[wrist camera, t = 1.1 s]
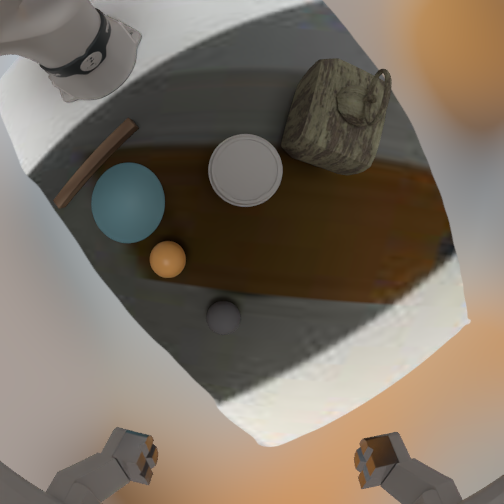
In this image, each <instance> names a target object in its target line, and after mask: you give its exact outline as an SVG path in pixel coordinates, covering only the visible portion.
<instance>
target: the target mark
mask: <svg viewBox="0 0 504 504" xmlns="http://www.w3.org/2000/svg"><path fill="white" fill-rule="evenodd" d="M164 207H165V197H164V192H163V188H162V186H161V183H160V181H159V180H158V178H157V177H156V175H155V174H154V173H153V172H152V171H150V170H149V169H148V168H146V167H144V166H142V165H140V164H136V163H121V164H118V165H115V166H113V167H111V168H110V169H108V170H107V171H106V172H105V173H104V174H103V175H102V176H101V177H100V178H99V180H98V181H97V183H96V185H95V188H94V191H93V194H92V213H93V216H94V219H95V222H96V223H97V225H98V227H99V228H100V230H101V231H102V232H103V233H104V234H105V235H106V236H108V237H109V238H111V239H113V240H115V241H118V242H121V243H134V242H138V241H141V240H143V239H145V238H146V237H148V236H149V235H150V234H151V233H153V231H154V230H155V229H156V228H157V226H158V225H159V223H160V221H161V219H162V216H163V213H164Z"/></svg>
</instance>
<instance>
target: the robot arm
mask: <svg viewBox="0 0 504 504" xmlns="http://www.w3.org/2000/svg"><path fill="white" fill-rule="evenodd" d="M130 34H132V35H130ZM141 37H142V35H141V33H140V32H139V31H137V30H135V29H133V28H131V27H129V26H127V25H125V24H123V23H121V22H119V21H117V20H115V19H113V18H111V17H109V16H107V15H104V14H103V13H102V12H101V11H100V10H99V9H97V8H94V6H93V5H92V4H91V2H90V1H89V0H0V56H2V55H10V54H12V55H19V56H22V57H25V58H28V59H30V60H33V61H35V62H37V63H39V65H40V67H41V68H42V69H44V70H45V71H46V72H47V73H49V74H50V75H49V79H50V80H51V81H53V82H52V84H53V85H54V86H56V87H57V88H59V90H60V93H61V96H62V98H63V100H64V101H65V102H67V103H69V102H73V101H75V100H78V99H84V100H94V99H98V98H101V97H104V96H106V95H108V94H110V93H111V92H113V91H114V90H116V89H117V88H118V87H119V86H120V85H121V84H122V83H123V82H124V81H125V80H126V79H127V77H128V76H129V74H130V73H131V71H132V69H133V67H134V64H135V61H136V49H137V46H138V44H139V42H140V40H141ZM153 441H154V440H153V437H152V436H151V435H147V434H142V433H138V432H134V431H130V430H126V429H123V428H119V427H116V428H115V429H114V430H113V432H112V434H111V436H110V438H109V439H108V441H107V443H106V445H105V447H104V448H103V451H102V452H101V454H100V453H96V454H94V455H92V456H90V457H88V458H86V459H85V460H82V461H80V462H78V463H76V464H74V465H72V466H70V467H68V468H65V469H63V470H61V471H59V472H57V474H56V476H55V477H54V479H53V481H52V482H51V484H50V486H49V488H48V489H47V491H46V492H44V491H43V490H41V489H39V488H38V487H36V486H35V485H33V484H32V483H30V482H28V481H27V480H25V479H24V478H23V477H21V476H20V475H18V474H17V473H15V472H14V471H13V470H11V469H10V468H9V467H7V466H6V465H4V464H3V463H2V462H1V461H0V504H102V503H101V502H102V501H104V500H105V499H107V498H108V497H110V496H111V495H112V494H114V493H115V492H117V491H118V490H119V489H121V488H122V487H123V486H125V485H126V484H128V483H129V482H130V481H134V482H138V483H142V484H146V485H149V484H150V481H151V478H152V475H153V472H152V470H151V468H153V467H154V466H156V464H157V460H158V451H157V447H156V446H155V445H154V444H153ZM360 446H361V447H360V448H359V449H357V450H356V453H355V457H354V463H355V468H356V469H357V470H358V471H359V472H361V473H360V475H359V477H358V479H359V482H360V485H361V489H364V488H369V487H374V486H379V485H381V487H382V488H383V489H384V490H386V491H387V492H388V493H389V494H391V495H392V496H393V497H394V498H395V499H397V500H398V501H399V502H400V503H401V504H504V475H502V476H501V477H500V478H498V479H496V480H495V481H494V482H492V483H490V484H489V485H487V486H486V487H484V488H483V489H481V490H479V491H478V492H476V493H475V494H473V495H471V496H469V497H468V498H466V499H464V500H462V498H461V496H460V494H459V492H458V490H457V487H456V486H455V484H454V481H453V480H452V479H451V478H449V477H447V476H445V475H443V474H441V473H439V472H438V471H436V470H434V469H432V468H430V467H428V466H427V465H425V464H423V463H422V462H420V461H418V460H416V459H414V458H413V459H411V458H410V455H409V454H408V451H407V449H406V447H405V445H404V443H403V441H402V439H401V436H400V434H399V433H398V432H393V433H389V434H383V435H379V436H374V437H370V438H364V439H362V440H361V442H360Z"/></svg>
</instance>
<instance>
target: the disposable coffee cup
mask: <svg viewBox="0 0 504 504" xmlns="http://www.w3.org/2000/svg"><path fill="white" fill-rule="evenodd" d="M282 173H283V171H282V162H281V158H280V156H279V154H278V152H277V151H276V149H275V148H274V147H273V146H272V144H270V143H269V142H268V141H267V140H265V139H263V138H261V137H259V136H256V135H251V134H240V135H235V136H232V137H230V138H227V139H226V140H224V141H223V142H222V143H220V144H219V145H218V147H217V148H216V149H215V150H214V152H213V154H212V156H211V158H210V161H209V167H208V174H209V180H210V183H211V185H212V187H213V189H214V190H215V192H216V193H217V194H218V195H219V196H220V197H221V198H222V199H223V200H225V201H226V202H228V203H230V204H233V205H236V206H241V207H251V206H255V205H259V204H261V203H263V202H265V201H266V200H268V199H269V198H270V197H271V196H272V195H273V194H274V193H275V192H276V190H277V189H278V187H279V185H280V182H281V179H282Z"/></svg>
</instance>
